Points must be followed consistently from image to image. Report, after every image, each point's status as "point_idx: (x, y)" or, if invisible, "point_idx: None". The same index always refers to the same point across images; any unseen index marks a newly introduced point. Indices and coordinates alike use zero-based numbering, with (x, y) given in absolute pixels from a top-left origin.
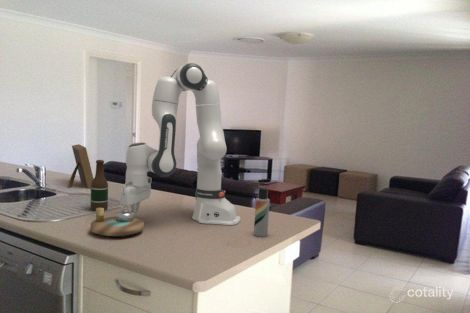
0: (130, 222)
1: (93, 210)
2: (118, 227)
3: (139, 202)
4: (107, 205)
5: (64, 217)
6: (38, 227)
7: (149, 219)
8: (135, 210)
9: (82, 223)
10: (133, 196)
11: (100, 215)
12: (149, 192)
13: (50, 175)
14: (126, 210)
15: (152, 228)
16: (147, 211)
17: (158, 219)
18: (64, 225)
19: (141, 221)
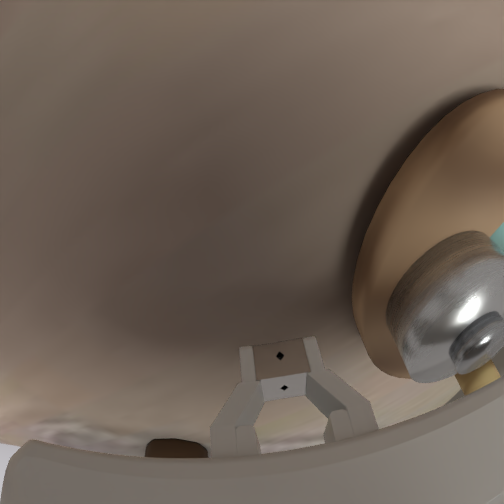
0: (501, 217)
1: (206, 451)
2: None
3: (243, 443)
4: (152, 455)
5: (320, 443)
6: (429, 409)
7: (100, 249)
8: (320, 356)
9: (373, 398)
10: (494, 483)
11: (495, 367)
12: (18, 499)
13: None
14: (495, 340)
15: (345, 52)
16: (15, 345)
17: (46, 193)
18: (406, 402)
19: (471, 150)
